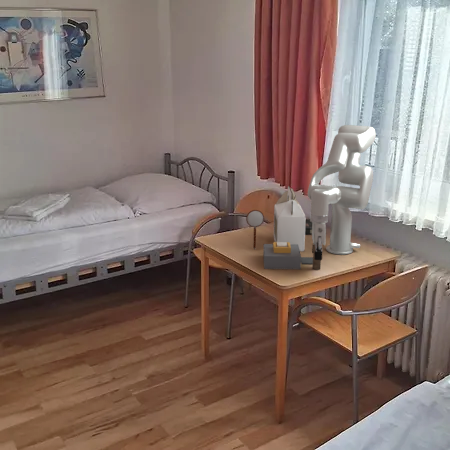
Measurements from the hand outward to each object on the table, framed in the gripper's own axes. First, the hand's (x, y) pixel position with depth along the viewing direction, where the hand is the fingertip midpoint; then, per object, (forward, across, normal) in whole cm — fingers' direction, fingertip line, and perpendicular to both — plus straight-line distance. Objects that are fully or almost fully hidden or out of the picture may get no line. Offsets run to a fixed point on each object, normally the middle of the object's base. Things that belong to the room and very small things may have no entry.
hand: (316, 256), depth 240 cm
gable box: (+6, +33, +10) cm, 35 cm away
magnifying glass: (+6, +24, +27) cm, 37 cm away
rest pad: (+6, +9, +2) cm, 11 cm away
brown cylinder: (+6, 0, 0) cm, 6 cm away
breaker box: (+6, +7, +15) cm, 18 cm away
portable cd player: (+7, +56, -2) cm, 56 cm away
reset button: (+3, +7, +15) cm, 17 cm away
